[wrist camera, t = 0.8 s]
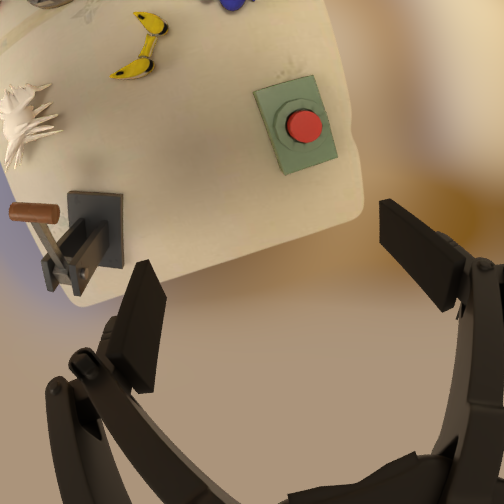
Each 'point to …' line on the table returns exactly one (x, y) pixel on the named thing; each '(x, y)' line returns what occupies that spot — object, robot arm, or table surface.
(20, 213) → the lever
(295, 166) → the button box
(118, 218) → the bracket
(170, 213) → the table surface
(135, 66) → the twin pod spaceship
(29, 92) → the spiky ball
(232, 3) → the fish toy
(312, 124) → the button
